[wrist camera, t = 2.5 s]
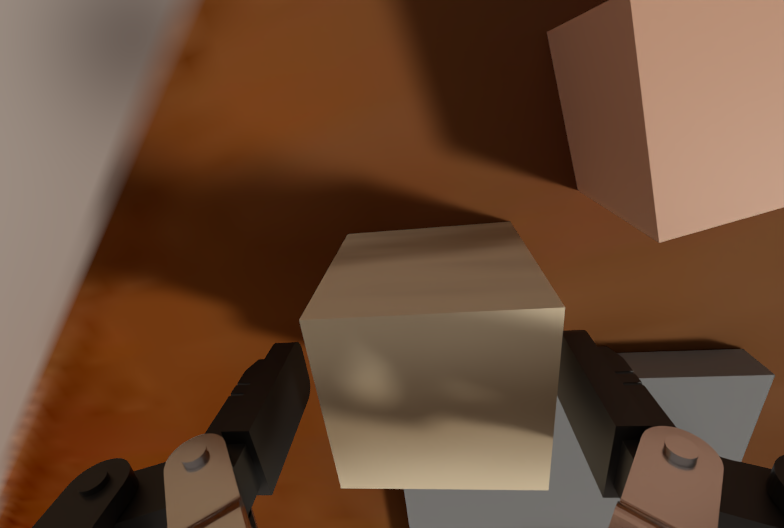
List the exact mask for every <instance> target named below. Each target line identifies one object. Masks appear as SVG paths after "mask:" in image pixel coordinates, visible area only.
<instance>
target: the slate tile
mask: <svg viewBox="0 0 784 528" xmlns="http://www.w3.org/2000/svg"><path fill="white" fill-rule="evenodd" d="M617 354H619V355H620V356H622V357H623V358H624V359H625V361H626V362H627V363H628V365H629V366H630V367H631V369H632V370H633V373H634V374H636V375H637V376H638V378H639V379H640V380H641V382H642V385H644V386H645V387H646V388H647V390H648V391H649V392H650V394H651V395H652V396H653V397H654V399H655V400H656V401H657V403H658V404H659V405H660V407H661V408H662V409H663V411H664V412H665V413H666V414H667V416H668V417H669V418H670V420H671V421H672V422H673V424H674V425H675V426H676V428H679V429H682V430H685V431H687V432H689V433H692V434H694V435H695V436H697V437H699V438H700V439H702V440H703V441H705V442H706V443H707V444H709V445H710V446H711V447H712V448H713V449H714V450H715V451H716V452H717V454H718V455H719V456H720V457H723V458H726V459H730V460H734V461H738V462H741V460H742V458H743V455H744V453H745V450H746V448H747V445H748V443H749V440H750V437H751V435H752V432H753V430H754V427H755V425H756V422H757V420H758V417H759V414H760V412H761V409H762V407H763V404H764V402H765V399H766V397H767V394H768V391H769V389H770V386H771V384H772V381H773V379H774V376H775V375H774V374H773V373H772V372H771V371H769V370H768V369H767V368H766V367H765V366H763V365H762V364H761V363H760V362H758V361H757V360H756V359H755V358H754V357H752V356H751V355H750V354H749V353H747V352H746V351H745V350H744V349H723V350H693V351H663V352H634V353H617ZM404 494H405V501H406V507H407V514H408V521H409V527H410V528H608V527H609V524H610V521H611V518H612V515H613V512H614V510H615V507H616V504H617V502H618V501H619V502H620V498H603V497H602V495H601V492H600V490H599V488H598V486H597V483H596V481H595V479H594V477H593V474H592V472H591V470H590V468H589V465H588V463H587V461H586V459H585V456H584V454H583V452H582V450H581V448H580V445H579V443H578V441H577V439H576V436H575V434H574V432H573V430H572V427H571V425H570V423H569V421H568V418H567V416H566V414H565V412H564V409H563V407H562V405H561V403H560V401H559V398H558V396H557V402H556V413H555V424H554V435H553V446H552V457H551V468H550V479H549V490H461V489H404Z"/></svg>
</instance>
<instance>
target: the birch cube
mask: <svg viewBox="0 0 784 528" xmlns="http://www.w3.org/2000/svg"><path fill="white" fill-rule="evenodd" d="M564 314H565V306H564V305H563V303H562V302H561V300H560V299H559V297H558V295H557V294H556V292H555V291H554V289H553V288H552V286H551V285H550V283H549V281H548V280H547V278H546V277H545V275H544V274H543V272H542V270H541V269H540V267H539V266H538V264H537V263H536V261H535V260H534V258H533V256H532V255H531V253H530V252H529V250H528V249H527V247H526V245H525V244H524V242H523V241H522V239H521V238H520V236H519V234H518V233H517V231H516V230H515V228H514V227H513V225H512V224H511V222H498V223H485V224H472V225H459V226H446V227H433V228H420V229H407V230H394V231H381V232H368V233H355V234H348V235H347V236H346V238H345V240H344V242H343V243H342V245H341V247H340V249H339V250H338V252H337V254H336V256H335V257H334V259H333V261H332V263H331V265H330V266H329V268H328V270H327V272H326V273H325V275H324V277H323V279H322V280H321V282H320V284H319V286H318V287H317V289H316V291H315V293H314V295H313V296H312V298H311V300H310V302H309V303H308V305H307V307H306V309H305V310H304V312H303V314H302V316H301V317H300V319H299V322H300V326H301V330H302V334H303V338H304V342H305V346H306V350H307V354H308V358H309V362H310V366H311V370H312V374H313V378H314V382H315V386H316V390H317V394H318V398H319V402H320V406H321V410H322V414H323V418H324V422H325V426H326V430H327V434H328V438H329V442H330V446H331V450H332V453H333V457H334V461H335V465H336V469H337V473H338V477H339V481H340V485H341V488H368V489H461V490H549V479H550V468H551V457H552V446H553V435H554V424H555V413H556V402H557V391H558V380H559V369H560V358H561V347H562V336H563V325H564Z"/></svg>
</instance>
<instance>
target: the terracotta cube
mask: <svg viewBox="0 0 784 528" xmlns="http://www.w3.org/2000/svg"><path fill="white" fill-rule="evenodd" d="M547 36H548V41H549V46H550V52H551V57H552V62H553V67H554V72H555V77H556V82H557V87H558V92H559V97H560V102H561V107H562V112H563V118H564V123H565V128H566V133H567V138H568V143H569V148H570V153H571V158H572V163H573V168H574V173H575V178H576V184H577V189H578V191H580V192H581V193H583V194H584V195H586V196H587V197H589V198H590V199H592V200H594V201H595V202H597V203H598V204H600V205H601V206H603V207H604V208H606V209H608V210H609V211H611V212H612V213H614V214H615V215H617V216H618V217H620V218H622V219H623V220H625V221H626V222H628V223H629V224H631V225H632V226H634V227H636V228H637V229H639V230H640V231H642V232H643V233H645V234H646V235H648V236H650V237H651V238H653V239H654V240H656V241H657V242H659V243H660V242H663V241H667V240H670V239H674V238H677V237H681V236H684V235H688V234H691V233H695V232H698V231H702V230H705V229H709V228H712V227H716V226H719V225H723V224H726V223H730V222H733V221H737V220H740V219H744V218H747V217H751V216H754V215H758V214H761V213H765V212H768V211H772V210H775V209H779V208H782V207H784V0H608V1H607V2H605V3H603V4H601V5H599V6H597V7H595V8H593V9H591V10H589V11H587V12H585V13H583V14H581V15H579V16H577V17H575V18H573V19H571V20H569V21H567V22H565V23H563V24H562V25H560V26H558V27H556V28H554V29H552V30H550V31H548V32H547Z"/></svg>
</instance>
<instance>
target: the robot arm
mask: <svg viewBox="0 0 784 528" xmlns="http://www.w3.org/2000/svg"><path fill="white" fill-rule="evenodd" d="M309 394H310V380H309V375H308V371H307V367H306V363H305V359H304V355H303V351H302V348H301V345H300V344H299V343H298V342H292V343H275V344H274V345H273V346H272V348H271V349H270V351H269V353H268V354H267V356H266V358H265V359H260V360H258V361H257V362H255V363H254V364H253V365H252V366H251V367H249V368H248V369H247V370H246V371H245V372H244V374H243V376H242V377H241V379H240V380H239V382H238V385H236V386H235V388H234V389H233V391H232V393H231V396H229V397H228V399H227V400H226V402H225V403H224V405H223V406H222V408H221V410H220V411H219V413H218V414H217V416H216V417H215V419H214V420H213V422H212V423H211V425H210V427H209V428H208V430H207V431H206V433H205V434H203V435H199V436H196V437H194V438H192V439H190V440H188V441H186V442H185V443H183V444H182V445H181V446H179V447H178V448H177V449H176V450H175V451H174V452H173V453H172V454H171V455H170V457H169V458H168V460H167V462H165V463H161V464H158V465H154V466H151V467H147V468H144V469H141V470H137V471H133V470H132V468H131V466H130V464H129V463H128V462H127V461H126V460H124V459H120V458H116V459H110V460H106V461H103V462H100V463H98V464H96V465H94V466H92V467H91V468H89V469H87V470H86V471H84V472H83V473H81V474H80V475H79V476H78V477H76V478H75V479H74V480H73V481H72V482H71V483H70V484H69V485H68V486H67V487H66V489H65V490H64V491H63V492H62V493H61V494H60V496H59V497H58V498H57V499H56V500H55V501H54V503H53V504H52V505H51V506H50V507H49V508H48V510H47V511H46V512H45V513H44V514H43V515H42V517H41V518H40V519H39V520H38V521H37V522H36V524H35V525H34V526H33V527H32V528H258V526H257V523H256V519H255V516H254V513H253V510H252V508H251V507H252V505H253V503H254V500H255V498H256V495H272V494H273V491H274V488H275V486H276V483H277V480H278V478H279V475H280V472H281V470H282V467H283V465H284V462H285V459H286V457H287V454H288V451H289V449H290V446H291V444H292V441H293V438H294V436H295V433H296V430H297V428H298V425H299V422H300V420H301V417H302V415H303V412H304V409H305V407H306V404H307V401H308V399H309ZM557 396H558V398H559V401H560V403H561V405H562V407H563V409H564V412H565V414H566V416H567V418H568V421H569V423H570V425H571V427H572V430H573V432H574V434H575V436H576V439H577V441H578V443H579V445H580V448H581V450H582V452H583V454H584V456H585V459H586V461H587V463H588V465H589V468H590V470H591V472H592V474H593V477H594V479H595V481H596V483H597V486H598V488H599V490H600V492H601V495H602V497H603V498H620V502H619V501H618V502H617V504H616V507H615V510H614V512H613V515H612V518H611V521H610V524H609V527H608V528H784V455H783V456H781V457H779V458H778V459H777V460H776V461H775V463H774V466H773V468H772V469H768V468H764V467H760V466H755V465H751V464H747V463H742V462H738V461H734V460H730V459H726V458H723V457H720V456H719V455H718V454H717V452H716V451H715V450H714V449H713V448H712V447H711V446H710V445H709V444H707V443H706V442H705V441H703V440H702V439H700V438H699V437H697V436H695V435H694V434H692V433H689V432H687V431H685V430H682V429H679V428H676V426H675V425H674V424H673V422H672V421H671V420H670V418H669V417H668V416H667V414H666V413H665V412H664V411H663V409H662V408H661V407H660V405H659V404H658V403H657V401H656V400H655V399H654V397H653V396H652V395H651V394H650V392H649V391H648V390H647V388H646V387H645V386H644V385H642V382H641V380H640V379H639V378H638V376H637V375H636V374H634V373H633V370H632V369H631V367H630V366H629V365H628V363H627V362H626V361H625V359H624V358H623V357H622V356H620V355H619V354H617V353H616V352H614V351H613V350H611V349H610V348H608V347H607V346H601V347H597V346H596V344H595V343H594V341H593V340H592V338H591V337H590V336H589V334H588V333H587V331H585V330H571V331H563V336H562V347H561V358H560V369H559V380H558V391H557Z"/></svg>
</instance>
